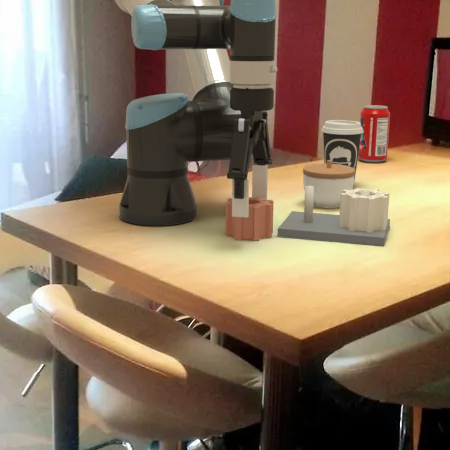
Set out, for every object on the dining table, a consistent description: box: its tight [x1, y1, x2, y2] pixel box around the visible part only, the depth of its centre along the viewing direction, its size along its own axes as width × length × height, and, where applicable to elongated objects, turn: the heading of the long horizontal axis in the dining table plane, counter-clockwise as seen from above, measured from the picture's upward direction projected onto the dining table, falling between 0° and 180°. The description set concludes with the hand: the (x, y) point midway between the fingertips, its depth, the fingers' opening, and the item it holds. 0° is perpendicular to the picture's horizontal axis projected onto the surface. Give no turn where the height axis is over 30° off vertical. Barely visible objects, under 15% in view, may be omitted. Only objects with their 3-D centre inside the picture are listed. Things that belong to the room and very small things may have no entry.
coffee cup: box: [320, 119, 364, 189], centre depth 169 cm, size 10×10×15 cm
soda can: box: [358, 104, 391, 164], centre depth 202 cm, size 8×8×15 cm
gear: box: [224, 196, 274, 242], centre depth 132 cm, size 8×8×6 cm
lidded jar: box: [302, 160, 356, 209], centre depth 153 cm, size 11×11×9 cm
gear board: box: [276, 186, 391, 247], centre depth 134 cm, size 19×13×8 cm
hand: (250, 208), depth 131 cm, fingers open, 13 cm apart
